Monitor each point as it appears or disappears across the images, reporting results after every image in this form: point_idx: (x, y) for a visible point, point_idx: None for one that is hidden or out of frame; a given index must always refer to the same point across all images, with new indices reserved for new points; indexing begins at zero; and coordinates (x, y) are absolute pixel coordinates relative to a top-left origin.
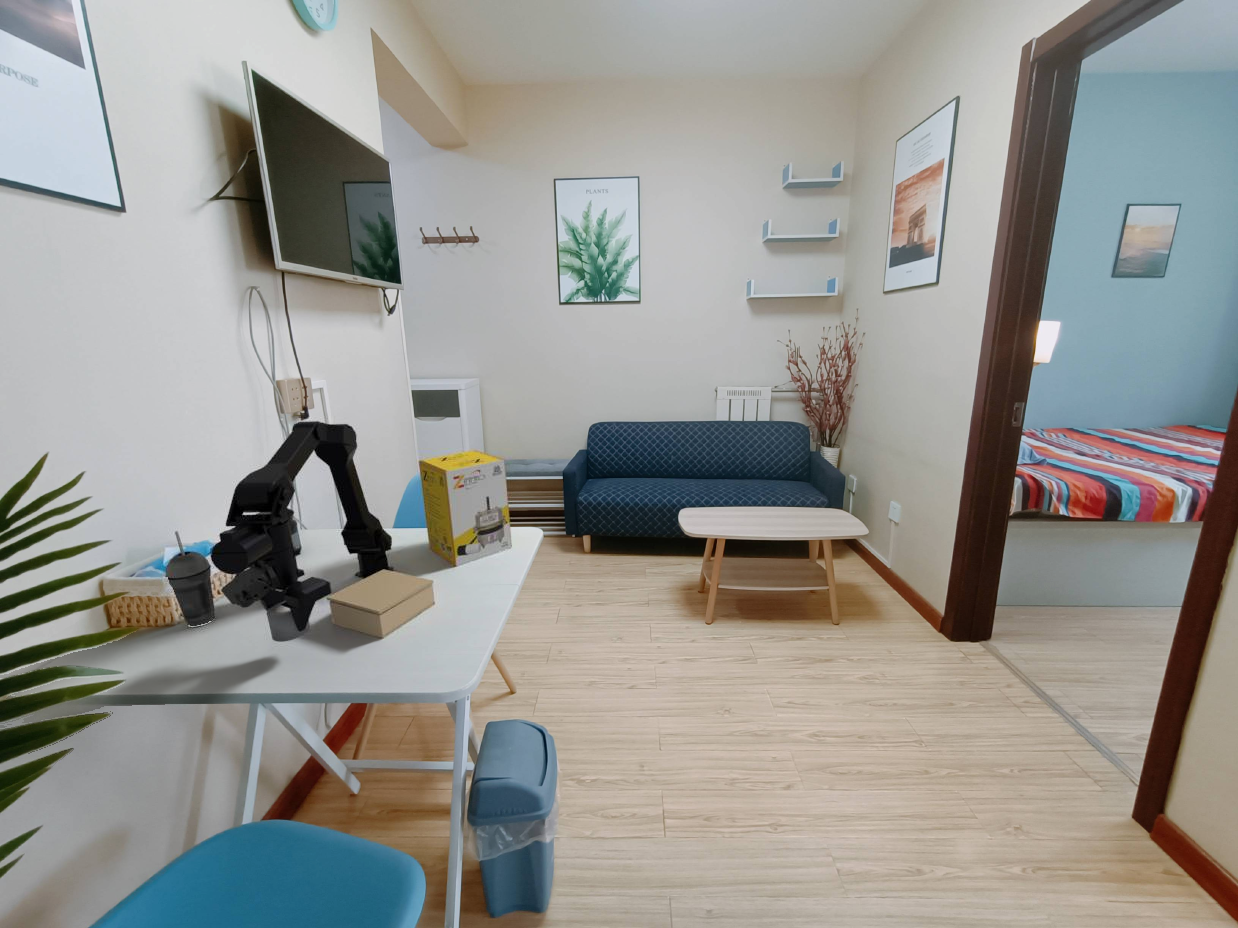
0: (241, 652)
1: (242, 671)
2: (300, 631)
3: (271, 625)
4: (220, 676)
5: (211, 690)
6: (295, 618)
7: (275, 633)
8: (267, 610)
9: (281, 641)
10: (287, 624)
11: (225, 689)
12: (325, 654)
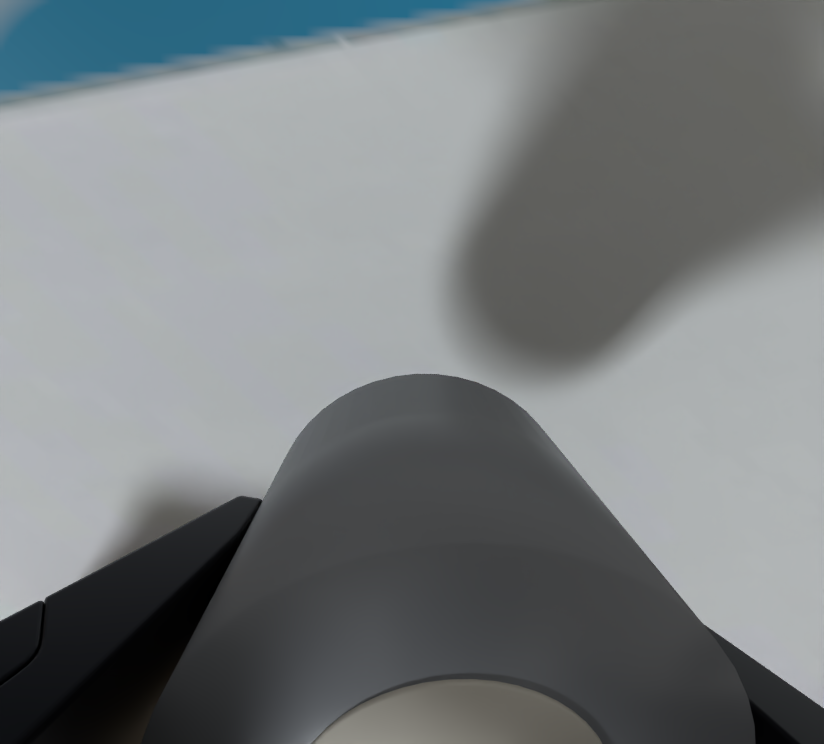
0: (764, 387)
1: (618, 227)
2: (240, 498)
3: (499, 447)
4: (723, 157)
5: (673, 10)
6: (91, 600)
7: (441, 401)
8: (783, 692)
9: (388, 378)
10: (281, 503)
11: (586, 38)
12: (241, 458)
